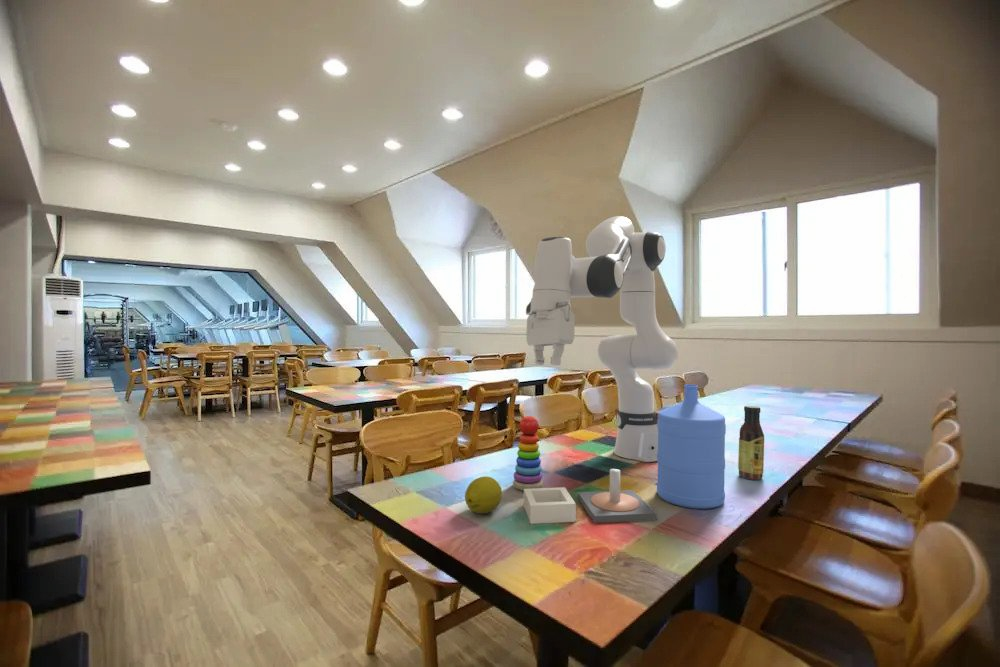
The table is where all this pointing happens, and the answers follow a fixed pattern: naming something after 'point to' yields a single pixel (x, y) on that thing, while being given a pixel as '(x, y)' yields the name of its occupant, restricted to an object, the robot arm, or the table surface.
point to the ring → (549, 505)
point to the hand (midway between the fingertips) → (547, 365)
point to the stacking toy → (528, 457)
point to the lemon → (483, 495)
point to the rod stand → (615, 503)
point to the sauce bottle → (751, 445)
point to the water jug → (691, 453)
